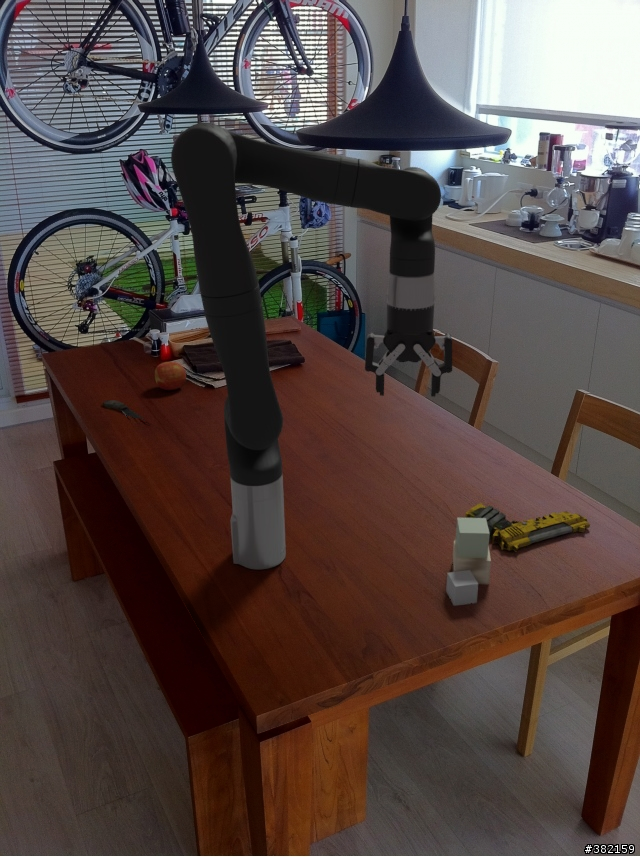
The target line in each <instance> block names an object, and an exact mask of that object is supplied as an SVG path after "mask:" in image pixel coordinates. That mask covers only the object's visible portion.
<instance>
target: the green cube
mask: <svg viewBox="0 0 640 857" xmlns="http://www.w3.org/2000/svg"><path fill="white" fill-rule="evenodd" d="M489 535H490V533H489V529H488V525H487V521H486V518H465V517H456V530H455V540H456V547H457V553H458V557H459V558H488V546H489V544H490V538H489Z"/></svg>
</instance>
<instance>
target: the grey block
mask: <svg viewBox="0 0 640 857" xmlns="http://www.w3.org/2000/svg"><path fill="white" fill-rule="evenodd" d="M445 588H446V589H445V591H446V594H447V596H448V597H449V600H450V599H451V600H450V602H451V603H452V605H453V606H454V607H457V606H463V605H471V603H472V604H478V593H479V592H478V591H479V584H478V582H477V581H476V579H475V577H474V576H473V574H472V573H471V571H470V570H466V571H457V572H453V571H451V572H450V571H448V572H447V574H446V587H445Z"/></svg>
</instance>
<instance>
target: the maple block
mask: <svg viewBox="0 0 640 857" xmlns="http://www.w3.org/2000/svg"><path fill="white" fill-rule="evenodd" d="M452 548H453V549H452V563H451V564H453V565H452V572H457V571H466V570H470V571H471V573H472V574H473V576H474V577H475V579H476V581H477V582H478V585H488V584H489V585H490V576H491V575H490V574H491V565H492V560H491V553H490V552H491V551H490V548H489V546H488V558H459V557H458V553H457V547H456V539H454V540H453V547H452Z"/></svg>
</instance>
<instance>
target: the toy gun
mask: <svg viewBox="0 0 640 857" xmlns="http://www.w3.org/2000/svg"><path fill="white" fill-rule="evenodd" d="M464 518H486V521H487V525H488V529H489V533H490V535H489V539H490V538H491V539H492V541H491V544H492V545H493V544H498V546H499V547H501V548H500V549H501V550H502V551H503V550H507V551H514V552H515V553H517V552H518V550H519V549H520V548H524V547H526V546H530V545H531V544H533V543H537V542H541V541H544V540H548V539H551V538H555V537H558V536H562V535H566V534H569V533H575V532H580V533H585V529H588V528H590V527H591V523H590V522H588V518H587V517H585V516H584V515H581V514H578V513H577V512H575V513H571V512H569V511H567V510H566V511H562V512H558V513H557V512H552V513H549V514H548V515H547V514H544V515H542V517H541V516H536V518H535V519H534V518H530V519H526V520H523V521H520V520H512V521H509V520H508V519H507V518H506V514H504V513H503V511H500V510H499V509H497V508H496V507H495V508H494V506H493V505H492V506H491V505H488V506H487V507H486V506H485V505H483V503H482V502H480V503H478V504H476V505H475V506H473V507H471V508H470V509H469V510H466V511H465V517H464Z"/></svg>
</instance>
